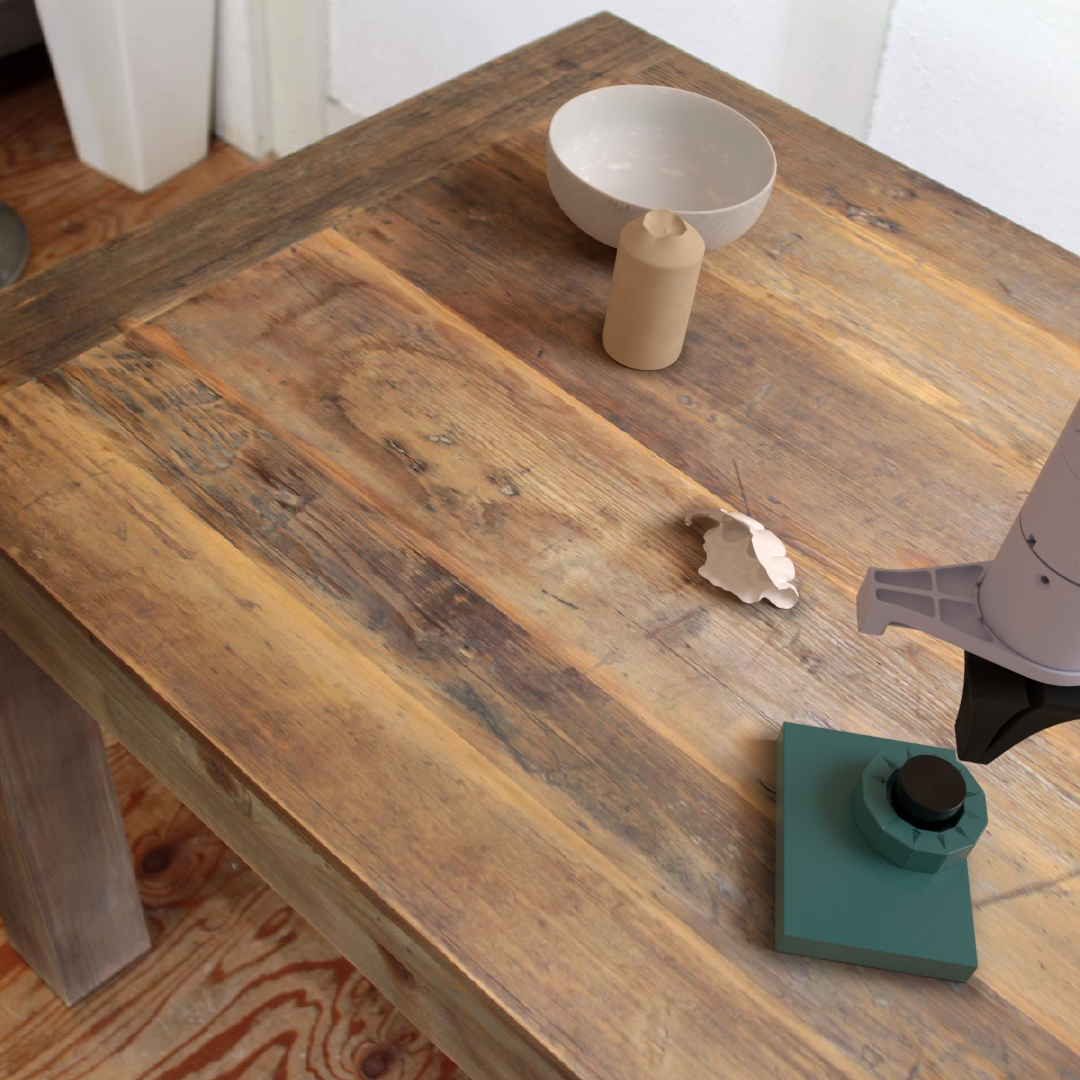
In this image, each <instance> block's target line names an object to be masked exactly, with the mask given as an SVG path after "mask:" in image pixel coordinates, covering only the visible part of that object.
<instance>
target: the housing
mask: <svg viewBox="0 0 1080 1080" xmlns="http://www.w3.org/2000/svg"><path fill="white" fill-rule="evenodd" d="M775 741H776V742H775V761H776V762H775V879H774V880H775V887H774V889H775V890H774V893H775V896H774V897H775V899H774V900H775V901H774V902H775V904H774V906H775V907H774V909H775V910H774V926H775V927H774V951H775V952H780V953H786V954H792V955H796V956H803V957H804V956H805V957H810V958H816V959H822V960H826V961H827V960H828V961H832V962H839V963H844V964H845V963H846V964H851V965H857V966H862V967H869V968H875V969H880V970H886V971H892V972H899V973H905V974H911V975H917V976H922V977H928V978H934V979H940V980H946V981H952V982H957V983H965V984H966V983H968V981H969V979H970V978H971V977H972V976H973V975H974V974H975V972H976V971H977V970H978V969H979V962H978V961H979V959H978V951H977V941H976V933H975V924H974V915H973V905H972V896H971V895H972V894H971V887H970V885H971V884H970V877H969V876H970V875H969V865H968V856H969V855H970V854H971V852H972V851H973V850H974V847H975V846H976V845H977V843H978V842H979V840H980V838H981V836H982V835H983V833H984V832H985V830H986V828H987V827H988V825H989V815H988V806H987V805H988V804H987V798H986V793H985V791H984V789H983V788H982V787H981V785H980V784H979V782H978V781H977V779H976V778H975V777H974V775H973V774H972V773H971V772H970V769H968V767H967V766H966V765H964V764H963V763H961V761H958V760H957V750H956V749H952V748H946V747H940V746H934V745H929V744H928V745H927V744H923V743H917V742H916V743H915V742H910V741H903V740H898V739H893V738H892V739H891V738H886V737H881V736H875V735H874V736H873V735H867V734H862V733H856V732H850V731H844V730H839V729H832V728H826V727H819V726H815V725H814V726H813V725H808V724H800V723H796V722H792V721H791V722H790V721H783V722H782V725H781V727H780V730H779V732H778V735H777V737H776V739H775ZM923 754H928V755H934V756H938V757H940V758H943V759H945V760H947V761H948V762H950V763H951V764H952V765H954V766H955V767H956V768H957V769H958V770H959V772H960V773H961V774H962V776H963V778H964V780H965V783H966V787H967V794H966V798H965V801H964V802H963V804H962V806H961V807H960V809H959V810H958V812H957V814H956V815H955V817H954V818H953V820H952V821H951V822H950V823H949V824H948V825H947V826H945V827H943V828H940V829H936V830H925V829H921V828H918V827H915V826H913V825H911V824H909V823H908V822H906V821H905V820H904V819H903V818H902V817H901V816H900V815H899V814H898V813H897V812H896V810H895V808H894V807H893V804H892V801H891V796H890V792H891V787H892V785H893V783H894V781H895V779H896V777H897V775H898V774H899V772H900V770H901V768H902V766H903V765H904V763H905V762H906V761H907V760H908V759H910V758H912V757H914V756H917V755H923Z"/></svg>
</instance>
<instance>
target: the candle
mask: <svg viewBox="0 0 1080 1080" xmlns="http://www.w3.org/2000/svg"><path fill="white" fill-rule="evenodd" d="M704 252H705V243H704V241H703V239H702V237H701V236H700V234H699V233H698V232H697V231H696V230H695V229H694V228H693V227H692V226H691V225H690V224H689V223H687V222H686V221H685V220H683V219H682V218H681V217H680V216H678V215H676V214H674V213H673V212H671V211H670V210H668V209H657V210H653V211H650V212H648V213H646V214H645V215H643V216H641V217H638V218H637V219H635V220H633V221H631V222H629V223H628V224H627V225H625V226H624V228H623V229H622V231H621V233H620V238H619V244H618V249H617V250H616V255H615V261H614V268H613V271H612V272H613V274H612V277H611V278H612V279H611V283H610V284H611V285H610V291H609V295H608V302H607V305H606V306H607V307H606V312H605V319H604V324H603V331H602V345H603V348H604V350H605V352H606V353H607V354H608V355H609V356H610V358H611V359H613V360H614V361H615V362H617V363H618V364H621V365H623V366H625V367H627V368H631V369H635V370H640V371H657V370H662V369H665V368H667V367H669V366H671V365H672V364H674V363H675V362H676V361H677V360H678V358H679V357H680V354H681V353H682V349H683V346H684V341H685V337H686V334H687V333H686V332H687V328H688V325H689V320H690V317H691V312H692V307H693V302H694V299H695V294H696V290H697V286H698V282H699V277H700V273H701V269H702V264H703V261H704V260H703V259H704V256H705V254H704Z"/></svg>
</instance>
